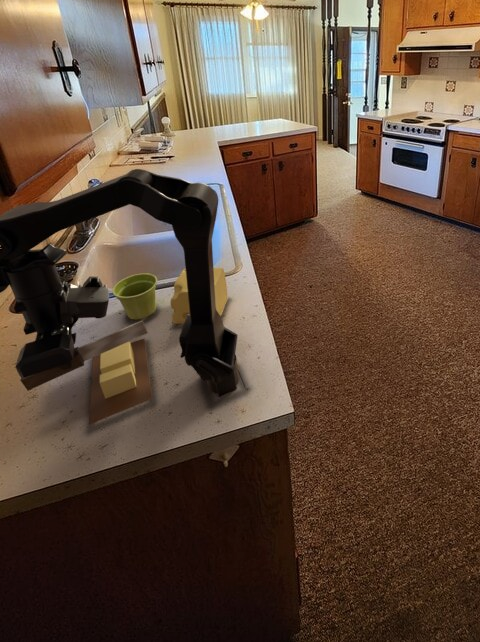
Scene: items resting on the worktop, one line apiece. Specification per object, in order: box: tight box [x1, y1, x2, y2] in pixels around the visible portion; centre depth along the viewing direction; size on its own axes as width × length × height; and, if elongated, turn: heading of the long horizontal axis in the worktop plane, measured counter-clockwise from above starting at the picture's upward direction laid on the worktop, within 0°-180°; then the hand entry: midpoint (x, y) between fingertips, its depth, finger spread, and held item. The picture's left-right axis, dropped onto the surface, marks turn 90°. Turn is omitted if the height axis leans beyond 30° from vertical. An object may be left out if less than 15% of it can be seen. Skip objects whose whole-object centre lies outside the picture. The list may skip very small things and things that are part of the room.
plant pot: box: [112, 272, 158, 320], centre depth 83 cm, size 9×9×9 cm
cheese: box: [170, 267, 229, 325], centre depth 84 cm, size 10×11×10 cm
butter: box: [100, 341, 135, 374], centre depth 68 cm, size 6×5×4 cm
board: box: [88, 338, 153, 425], centre depth 67 cm, size 17×10×1 cm, turn 29°
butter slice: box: [100, 364, 136, 399], centre depth 64 cm, size 2×5×4 cm, turn 120°
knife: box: [20, 319, 149, 391], centre depth 61 cm, size 18×2×3 cm, turn 123°
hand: (68, 362), depth 60 cm, fingers closed on knife, 2 cm apart
